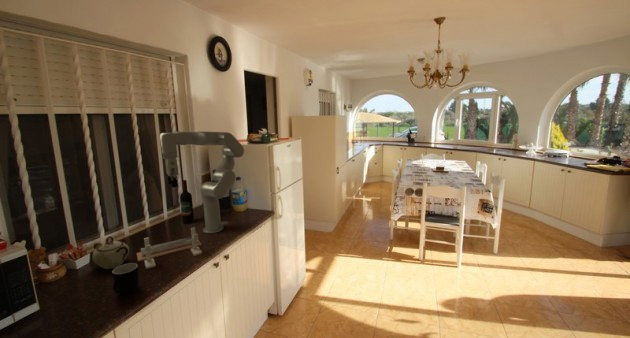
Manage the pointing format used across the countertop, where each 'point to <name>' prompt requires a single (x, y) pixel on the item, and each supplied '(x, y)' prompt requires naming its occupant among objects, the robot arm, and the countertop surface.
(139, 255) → the terracotta mat
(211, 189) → the robot arm
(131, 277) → the mug
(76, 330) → the countertop surface
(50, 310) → the countertop surface
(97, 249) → the sugar bowl
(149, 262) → the shelf brackets
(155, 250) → the steel rail
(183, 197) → the wine bottle
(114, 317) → the countertop surface
